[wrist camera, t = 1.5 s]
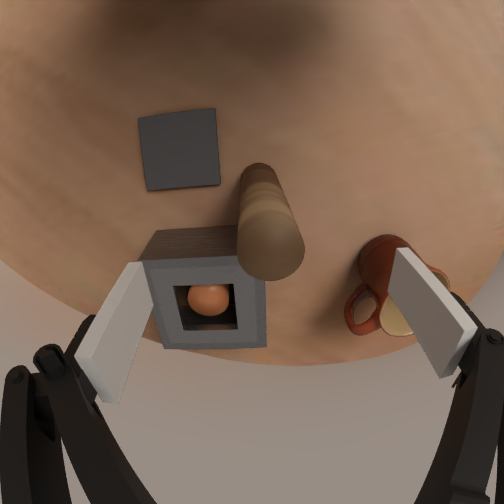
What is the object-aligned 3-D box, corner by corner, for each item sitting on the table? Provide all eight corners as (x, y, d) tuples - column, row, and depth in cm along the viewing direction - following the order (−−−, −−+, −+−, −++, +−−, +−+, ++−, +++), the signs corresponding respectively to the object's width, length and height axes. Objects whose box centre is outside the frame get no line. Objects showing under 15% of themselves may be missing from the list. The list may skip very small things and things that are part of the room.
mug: (397, 212, 32) (442, 252, 23) (417, 262, 36) (455, 308, 27) (316, 263, 36) (337, 318, 27) (345, 307, 39) (367, 362, 30)
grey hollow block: (156, 230, 33) (137, 260, 27) (260, 224, 33) (264, 254, 27) (174, 311, 39) (164, 348, 32) (263, 308, 39) (266, 347, 32)
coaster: (140, 118, 27) (138, 118, 26) (215, 108, 27) (214, 107, 26) (149, 189, 31) (147, 190, 30) (220, 182, 31) (220, 184, 30)
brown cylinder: (239, 164, 30) (234, 222, 16) (276, 162, 30) (305, 219, 16) (241, 198, 32) (239, 282, 17) (277, 196, 32) (303, 279, 17)
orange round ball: (188, 268, 33) (184, 283, 30) (228, 266, 33) (226, 282, 30) (194, 300, 35) (191, 316, 32) (231, 298, 35) (230, 315, 32)
